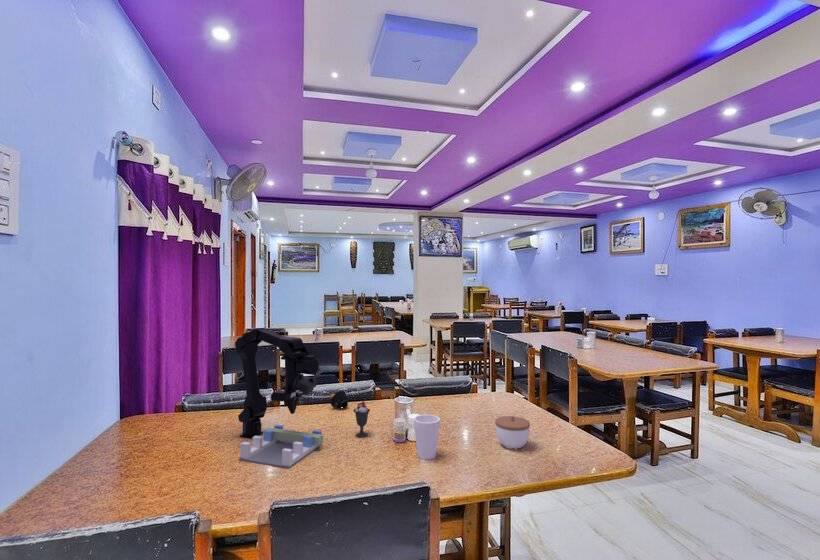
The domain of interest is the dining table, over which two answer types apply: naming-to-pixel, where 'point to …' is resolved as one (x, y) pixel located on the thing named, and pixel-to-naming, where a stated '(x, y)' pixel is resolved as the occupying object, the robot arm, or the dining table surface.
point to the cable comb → (277, 450)
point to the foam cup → (426, 435)
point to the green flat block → (294, 436)
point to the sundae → (361, 418)
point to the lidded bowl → (512, 431)
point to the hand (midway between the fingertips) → (292, 413)
